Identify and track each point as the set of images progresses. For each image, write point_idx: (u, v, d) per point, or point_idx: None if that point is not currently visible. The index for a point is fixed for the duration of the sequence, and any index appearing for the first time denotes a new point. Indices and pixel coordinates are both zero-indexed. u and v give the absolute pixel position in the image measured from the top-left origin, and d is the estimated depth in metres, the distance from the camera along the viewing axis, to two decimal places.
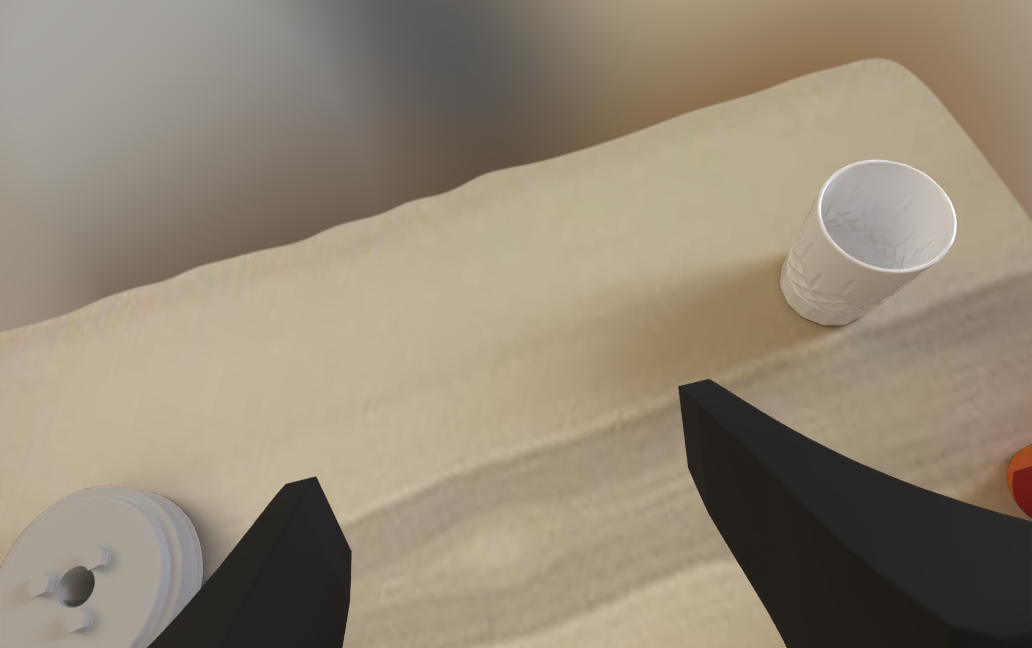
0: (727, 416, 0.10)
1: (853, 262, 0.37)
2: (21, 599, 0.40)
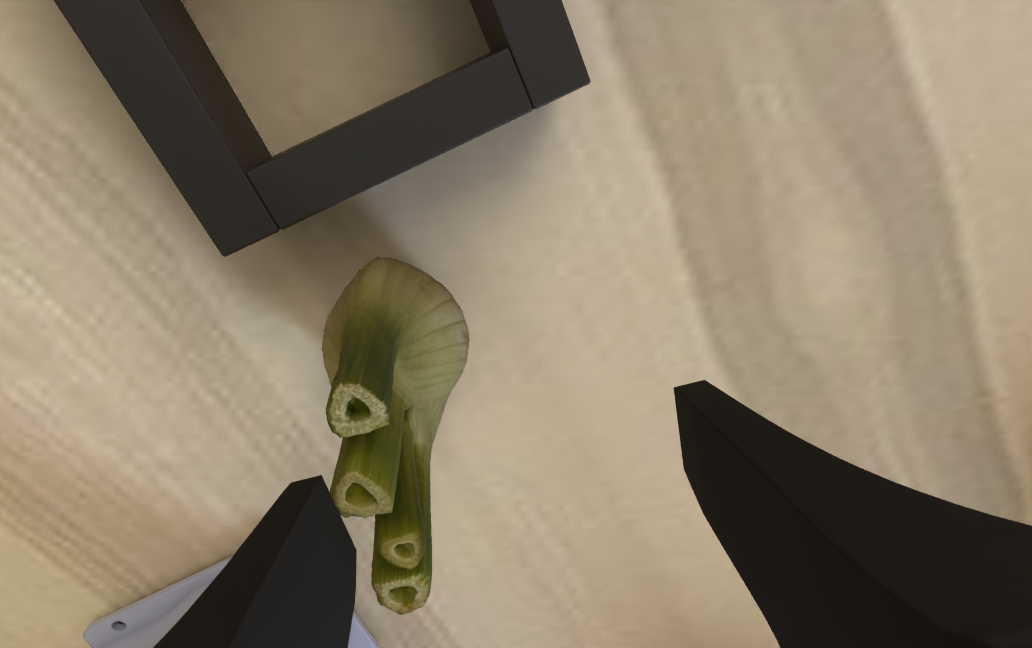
0: (722, 417, 0.10)
1: None
2: None
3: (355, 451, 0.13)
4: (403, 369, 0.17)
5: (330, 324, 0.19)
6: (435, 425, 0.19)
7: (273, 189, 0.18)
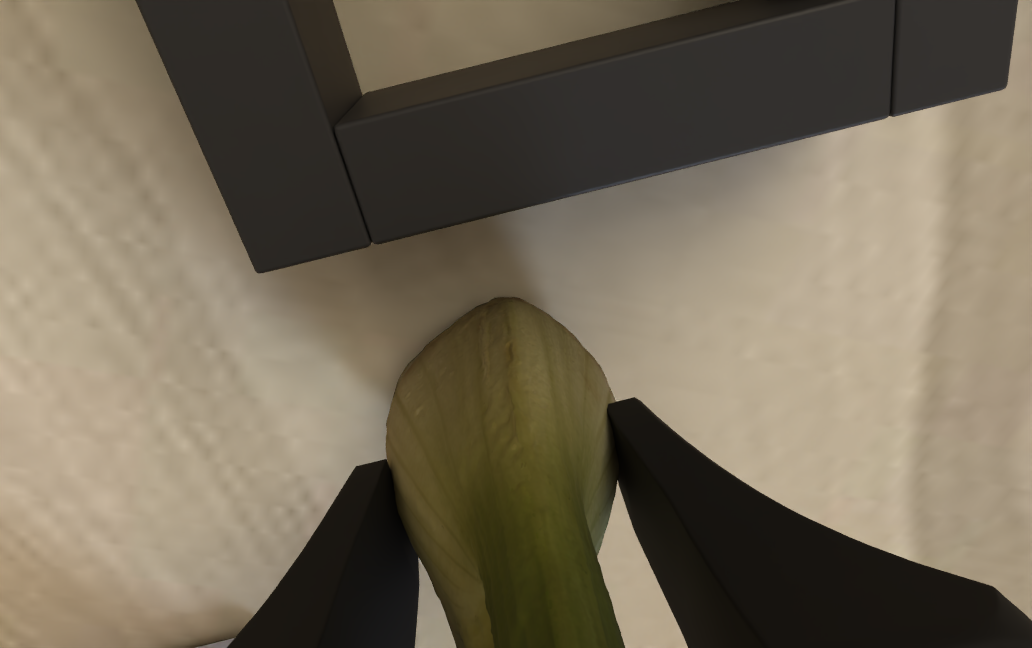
0: (641, 437, 0.10)
1: None
2: None
3: None
4: None
5: (419, 411, 0.11)
6: None
7: (379, 169, 0.09)
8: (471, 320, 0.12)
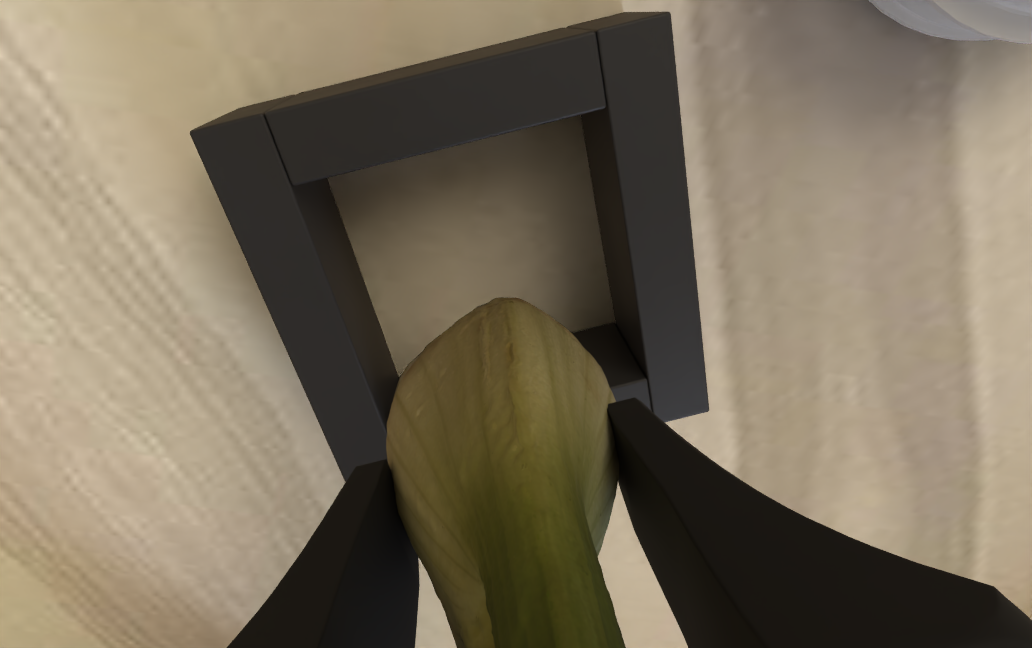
0: (641, 437, 0.10)
1: None
2: None
3: None
4: None
5: (419, 412, 0.11)
6: None
7: None
8: (471, 321, 0.12)
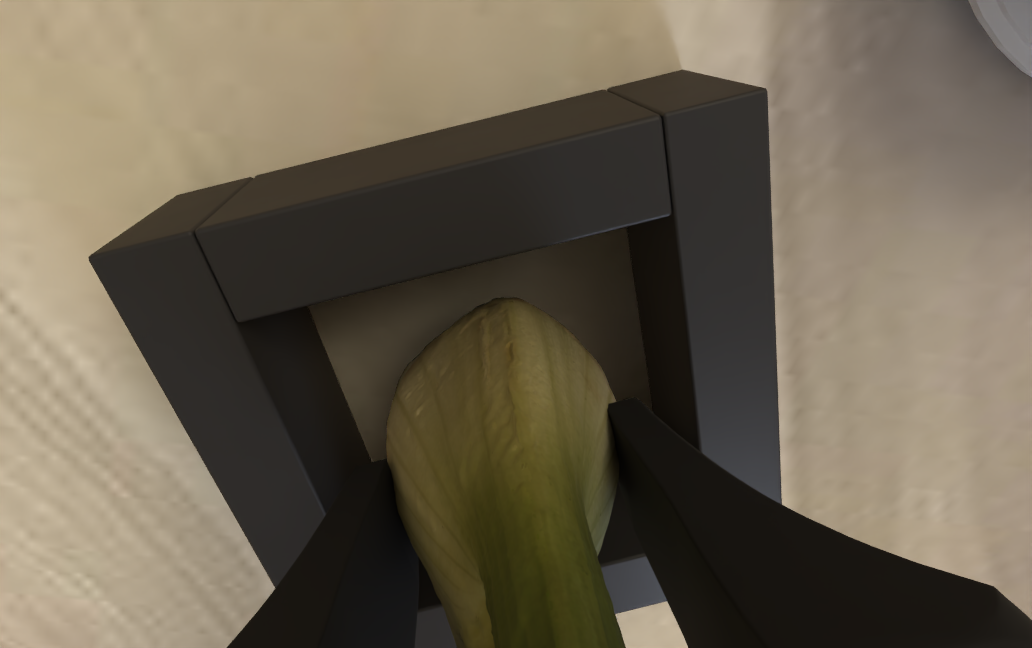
0: (641, 437, 0.10)
1: None
2: None
3: None
4: None
5: (419, 411, 0.11)
6: None
7: None
8: (471, 320, 0.12)
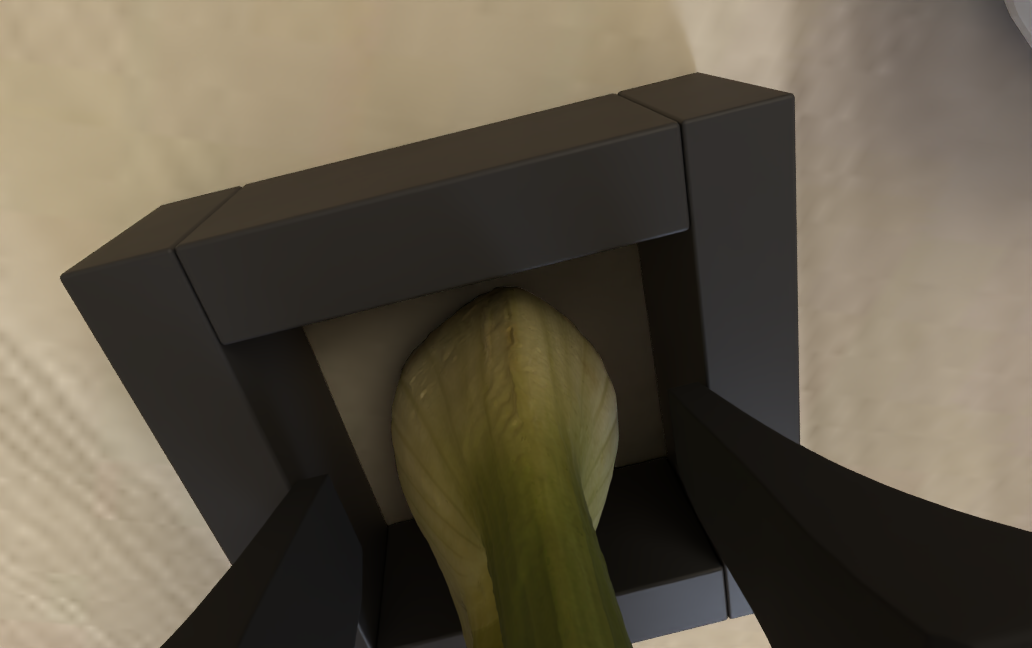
0: (714, 419, 0.10)
1: None
2: None
3: None
4: None
5: (423, 394, 0.12)
6: None
7: None
8: (473, 308, 0.13)
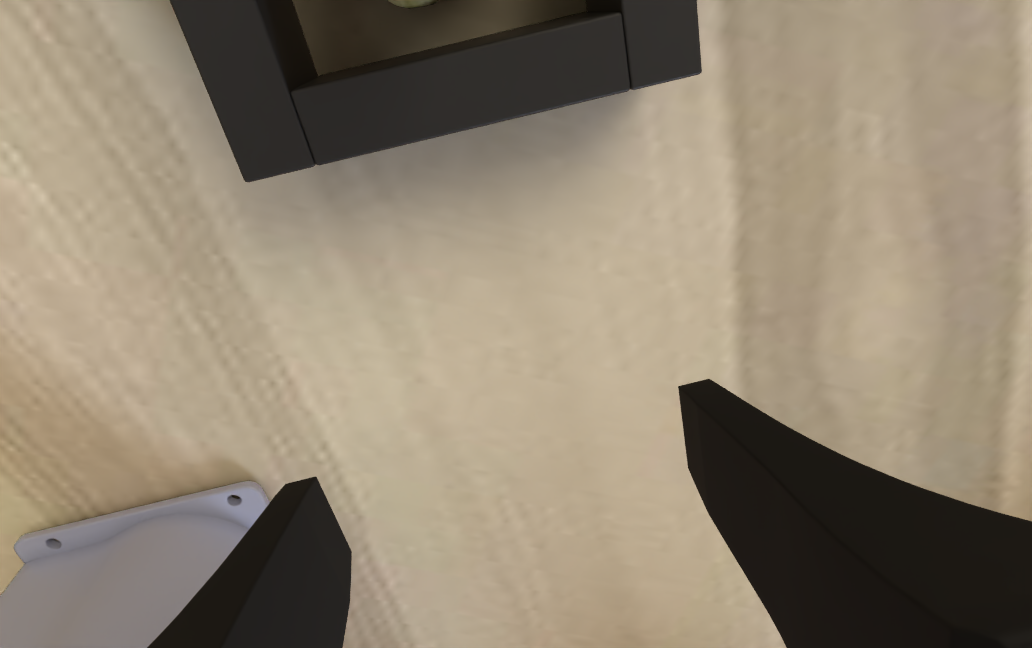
0: (727, 416, 0.10)
1: None
2: None
3: None
4: None
5: None
6: None
7: (318, 117, 0.15)
8: None
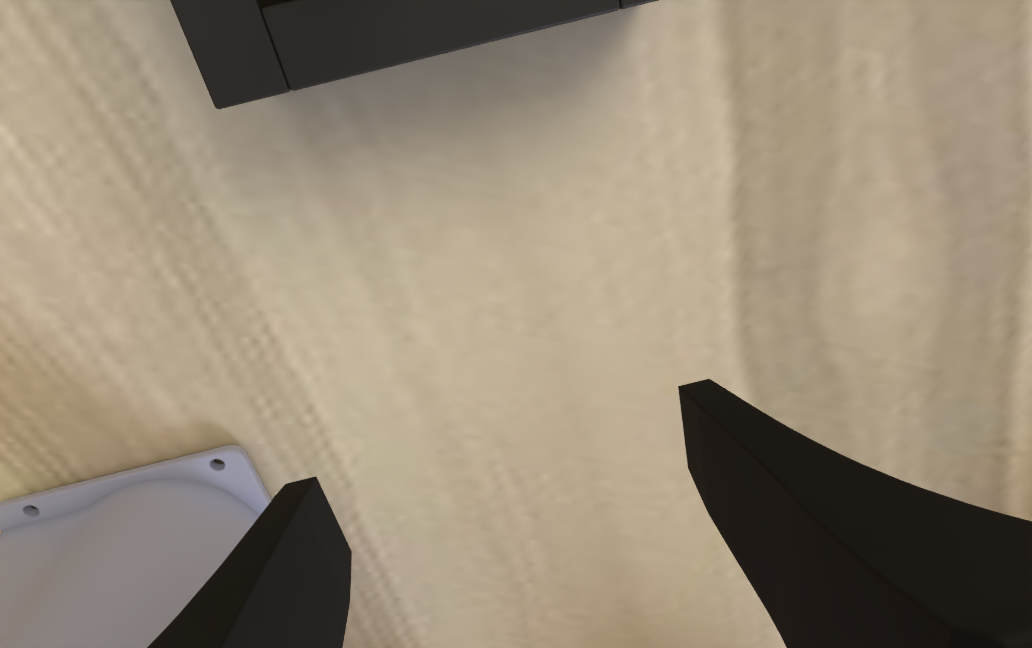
0: (727, 416, 0.10)
1: None
2: None
3: None
4: None
5: None
6: None
7: (291, 37, 0.14)
8: None
